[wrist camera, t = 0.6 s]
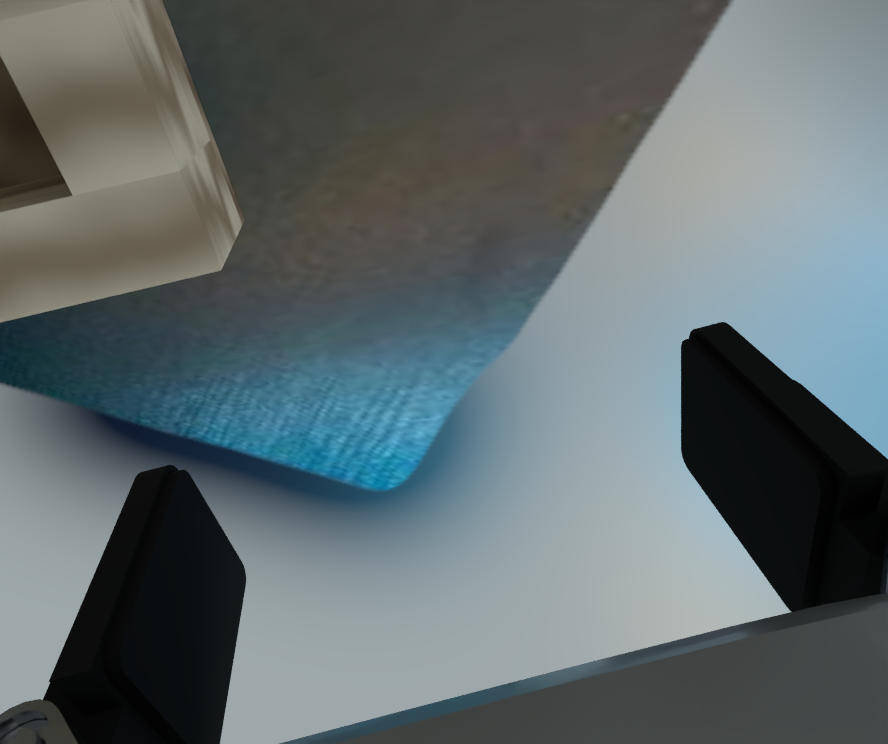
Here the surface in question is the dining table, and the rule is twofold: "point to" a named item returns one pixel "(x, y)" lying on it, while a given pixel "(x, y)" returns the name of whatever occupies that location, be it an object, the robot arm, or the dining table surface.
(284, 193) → the dining table surface
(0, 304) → the torch stand
